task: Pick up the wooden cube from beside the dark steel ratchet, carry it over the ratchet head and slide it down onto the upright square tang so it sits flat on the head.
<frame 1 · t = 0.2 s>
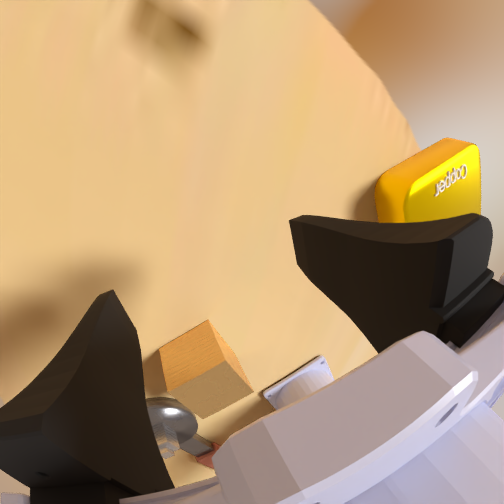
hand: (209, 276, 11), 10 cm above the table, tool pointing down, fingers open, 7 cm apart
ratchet: (158, 419, 27), on the table
element tile: (422, 212, 30), on the table
wooden cube: (198, 351, 25), on the table
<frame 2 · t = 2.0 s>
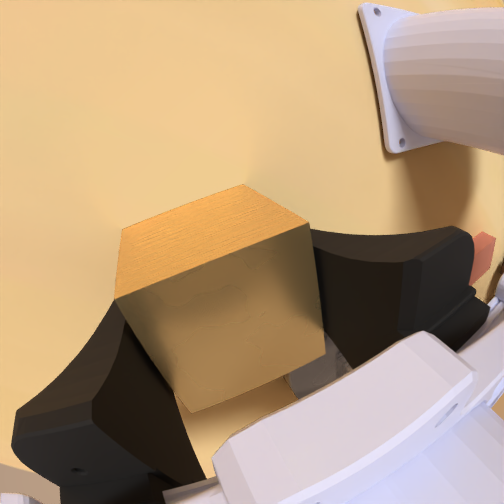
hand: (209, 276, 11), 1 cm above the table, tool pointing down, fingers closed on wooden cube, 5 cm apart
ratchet: (336, 343, 18), on the table
wooden cube: (202, 260, 12), on the table, touching gripper
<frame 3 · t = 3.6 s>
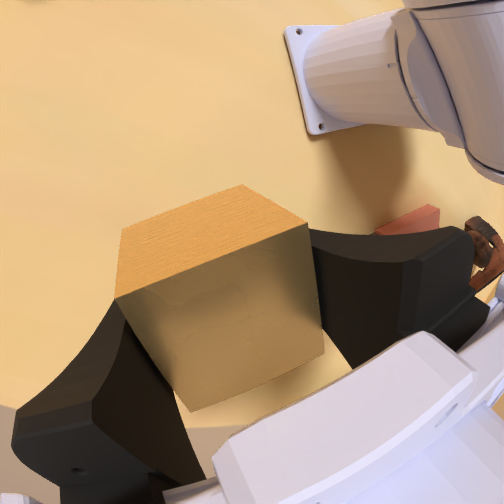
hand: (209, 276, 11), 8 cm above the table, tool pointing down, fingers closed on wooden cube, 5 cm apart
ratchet: (284, 287, 23), on the table
brown arched piece: (462, 245, 33), on the table
wooden cube: (201, 260, 12), point 7 cm above the table, touching gripper
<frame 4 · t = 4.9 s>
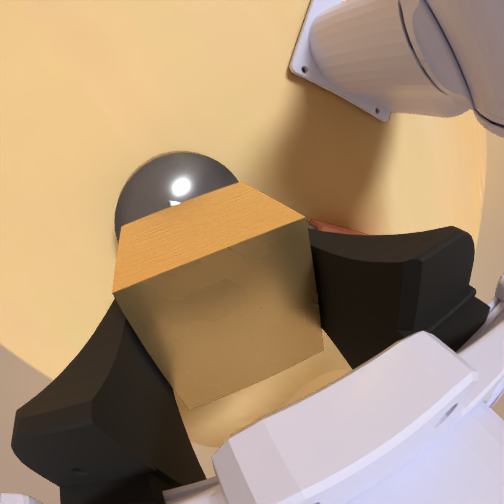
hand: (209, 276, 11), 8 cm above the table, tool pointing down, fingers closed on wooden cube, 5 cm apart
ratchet: (179, 214, 18), on the table
wooden cube: (200, 257, 12), point 7 cm above the table, touching gripper
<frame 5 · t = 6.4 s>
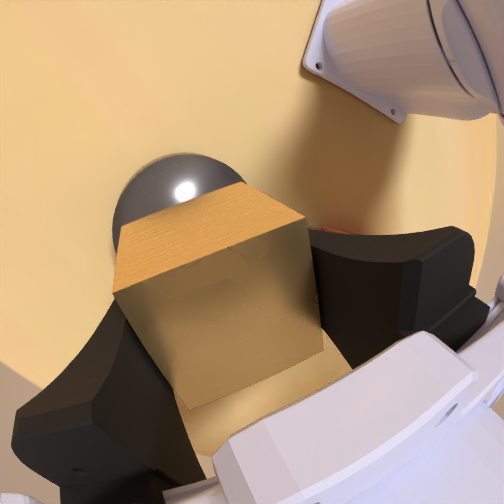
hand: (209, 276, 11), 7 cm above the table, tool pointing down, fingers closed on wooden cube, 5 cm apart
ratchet: (183, 222, 17), on the table
wooden cube: (200, 257, 12), point 5 cm above the table, touching gripper
when the fingers open (3 cm above the table, at t = 7.8 s): wooden cube stays where it is, resting on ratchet.
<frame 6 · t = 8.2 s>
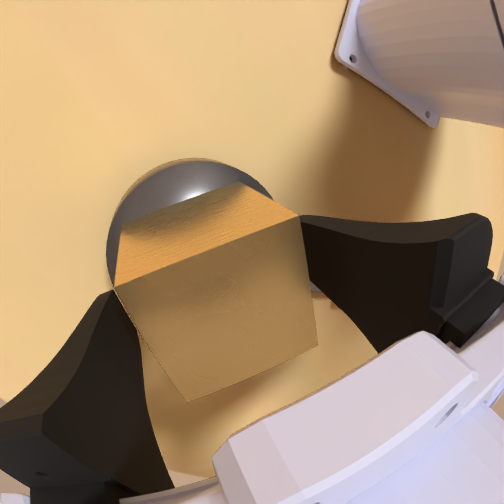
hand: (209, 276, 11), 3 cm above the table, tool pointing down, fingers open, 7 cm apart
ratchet: (192, 242, 14), on the table, touching wooden cube
wooden cube: (199, 255, 13), point 2 cm above the table, touching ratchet
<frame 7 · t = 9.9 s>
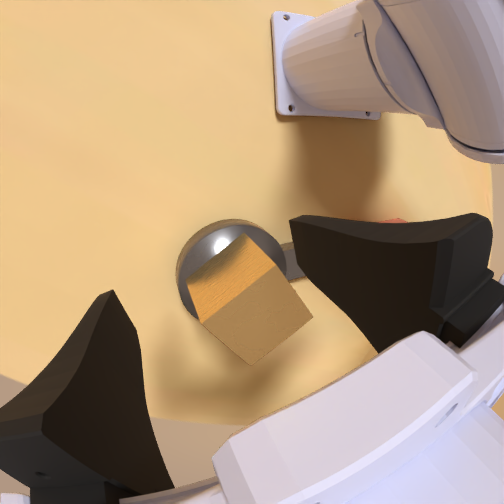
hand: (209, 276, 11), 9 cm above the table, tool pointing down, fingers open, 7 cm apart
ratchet: (228, 270, 22), on the table, touching wooden cube
wooden cube: (234, 280, 21), point 2 cm above the table, touching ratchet
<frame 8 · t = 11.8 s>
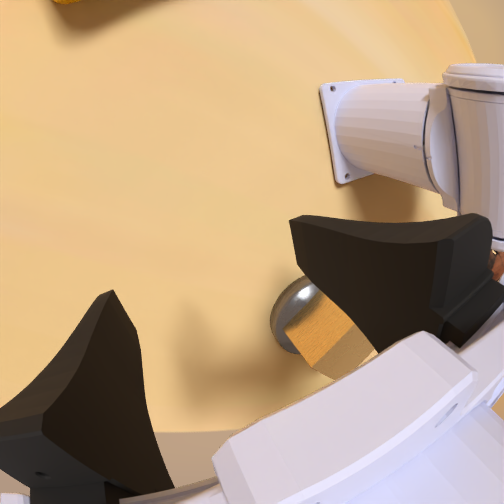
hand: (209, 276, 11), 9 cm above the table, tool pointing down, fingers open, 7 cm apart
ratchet: (309, 310, 27), on the table, touching wooden cube
brown arched piece: (468, 251, 36), on the table
wooden cube: (317, 319, 26), point 2 cm above the table, touching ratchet
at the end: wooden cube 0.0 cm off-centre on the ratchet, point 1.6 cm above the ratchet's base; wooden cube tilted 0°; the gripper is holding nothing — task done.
